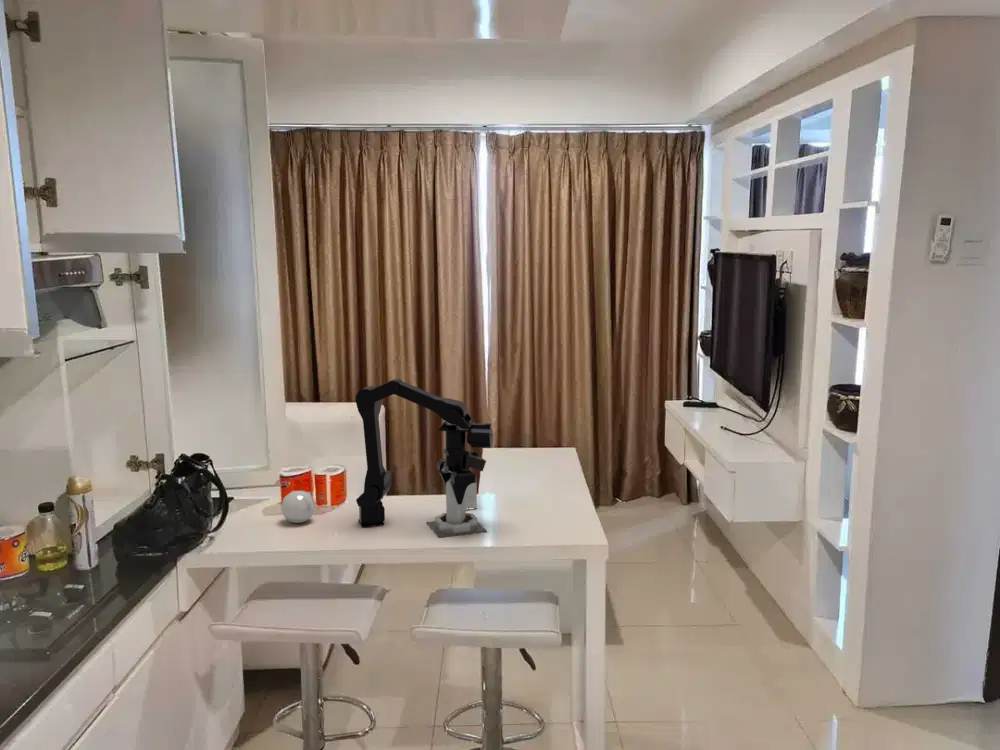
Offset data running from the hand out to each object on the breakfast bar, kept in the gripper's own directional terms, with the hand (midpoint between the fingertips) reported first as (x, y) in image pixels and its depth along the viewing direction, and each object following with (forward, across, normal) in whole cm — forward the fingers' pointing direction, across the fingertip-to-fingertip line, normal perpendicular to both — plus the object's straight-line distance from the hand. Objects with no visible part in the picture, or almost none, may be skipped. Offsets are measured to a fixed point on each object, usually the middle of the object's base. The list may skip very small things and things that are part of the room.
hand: (455, 500), depth 213 cm
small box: (+8, +18, -8) cm, 21 cm away
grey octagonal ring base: (+8, 0, 0) cm, 8 cm away
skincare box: (+6, 0, 0) cm, 6 cm away
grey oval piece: (+8, +23, +41) cm, 48 cm away
